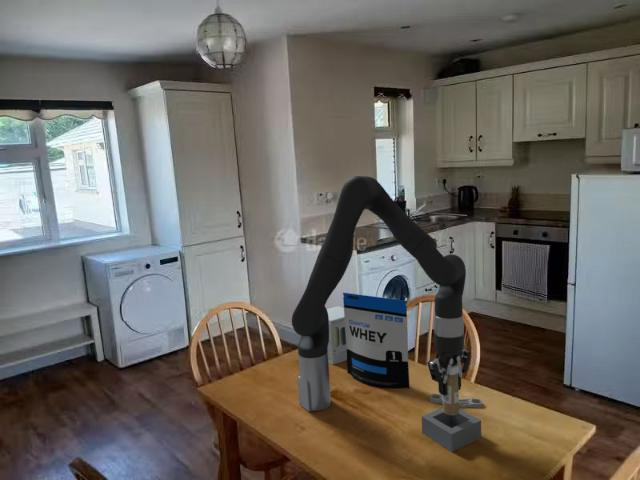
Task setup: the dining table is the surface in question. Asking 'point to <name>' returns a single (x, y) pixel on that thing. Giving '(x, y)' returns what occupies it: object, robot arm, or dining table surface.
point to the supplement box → (336, 336)
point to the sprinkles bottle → (451, 392)
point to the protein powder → (377, 340)
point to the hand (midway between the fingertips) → (450, 391)
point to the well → (451, 438)
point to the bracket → (470, 402)
